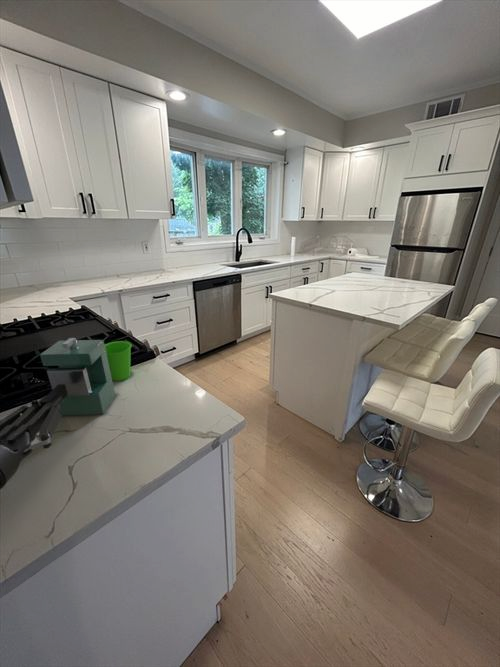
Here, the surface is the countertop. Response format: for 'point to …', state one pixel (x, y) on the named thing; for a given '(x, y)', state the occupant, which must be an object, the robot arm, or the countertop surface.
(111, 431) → the countertop surface
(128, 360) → the cup
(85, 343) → the dispenser
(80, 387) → the plate
